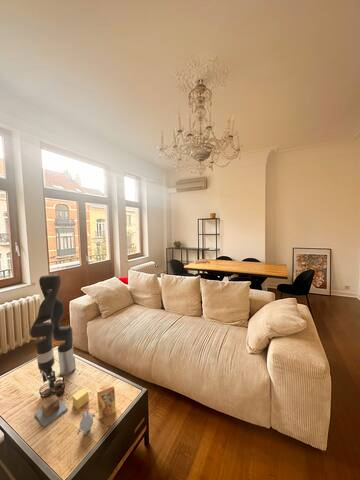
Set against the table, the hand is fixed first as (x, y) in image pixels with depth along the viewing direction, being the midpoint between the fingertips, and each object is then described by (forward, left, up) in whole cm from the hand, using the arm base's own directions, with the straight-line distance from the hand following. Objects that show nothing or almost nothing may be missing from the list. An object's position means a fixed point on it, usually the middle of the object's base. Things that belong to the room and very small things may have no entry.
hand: (48, 384), depth 113 cm
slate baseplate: (0, 0, -18) cm, 18 cm away
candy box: (-18, +27, -18) cm, 37 cm away
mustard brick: (-13, +8, -18) cm, 23 cm away
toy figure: (-6, +27, -18) cm, 33 cm away
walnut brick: (0, 0, -16) cm, 16 cm away
